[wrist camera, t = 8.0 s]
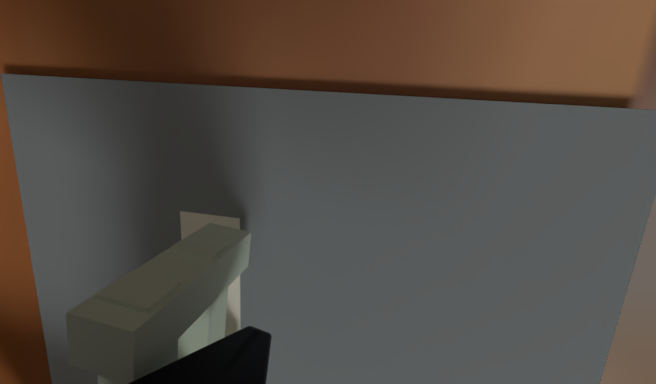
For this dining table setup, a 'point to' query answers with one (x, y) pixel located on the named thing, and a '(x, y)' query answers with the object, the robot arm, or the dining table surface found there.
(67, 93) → the mat
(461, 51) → the dining table surface
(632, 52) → the dining table surface
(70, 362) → the hinged fence panel
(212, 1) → the dining table surface
